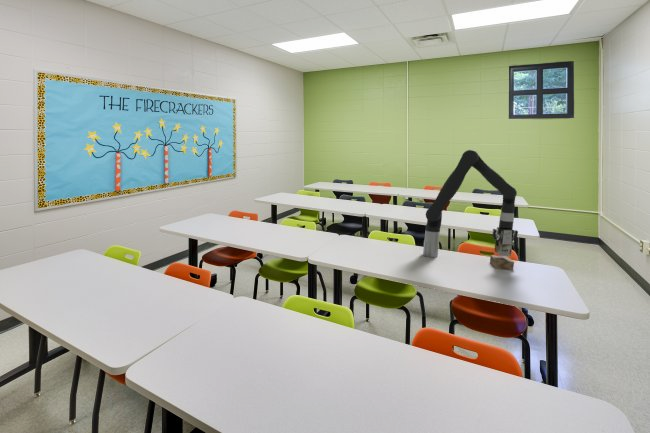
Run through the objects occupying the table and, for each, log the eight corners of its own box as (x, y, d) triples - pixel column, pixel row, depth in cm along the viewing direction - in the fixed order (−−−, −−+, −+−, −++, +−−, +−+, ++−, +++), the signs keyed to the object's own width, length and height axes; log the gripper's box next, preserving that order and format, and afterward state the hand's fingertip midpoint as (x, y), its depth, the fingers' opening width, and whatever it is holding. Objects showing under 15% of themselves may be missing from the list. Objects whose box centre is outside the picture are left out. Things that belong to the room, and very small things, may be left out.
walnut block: (495, 268, 212) (496, 260, 212) (489, 262, 224) (490, 255, 223) (513, 269, 211) (514, 261, 210) (506, 263, 222) (507, 256, 222)
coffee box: (511, 256, 211) (514, 230, 209) (500, 255, 212) (503, 229, 209) (504, 252, 220) (507, 227, 218) (493, 251, 221) (496, 226, 218)
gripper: (495, 220, 210) (492, 246, 213) (521, 221, 207) (518, 248, 210) (492, 218, 217) (489, 243, 220) (517, 219, 215) (513, 245, 218)
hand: (503, 246), depth 215 cm, fingers closed on coffee box, 7 cm apart
